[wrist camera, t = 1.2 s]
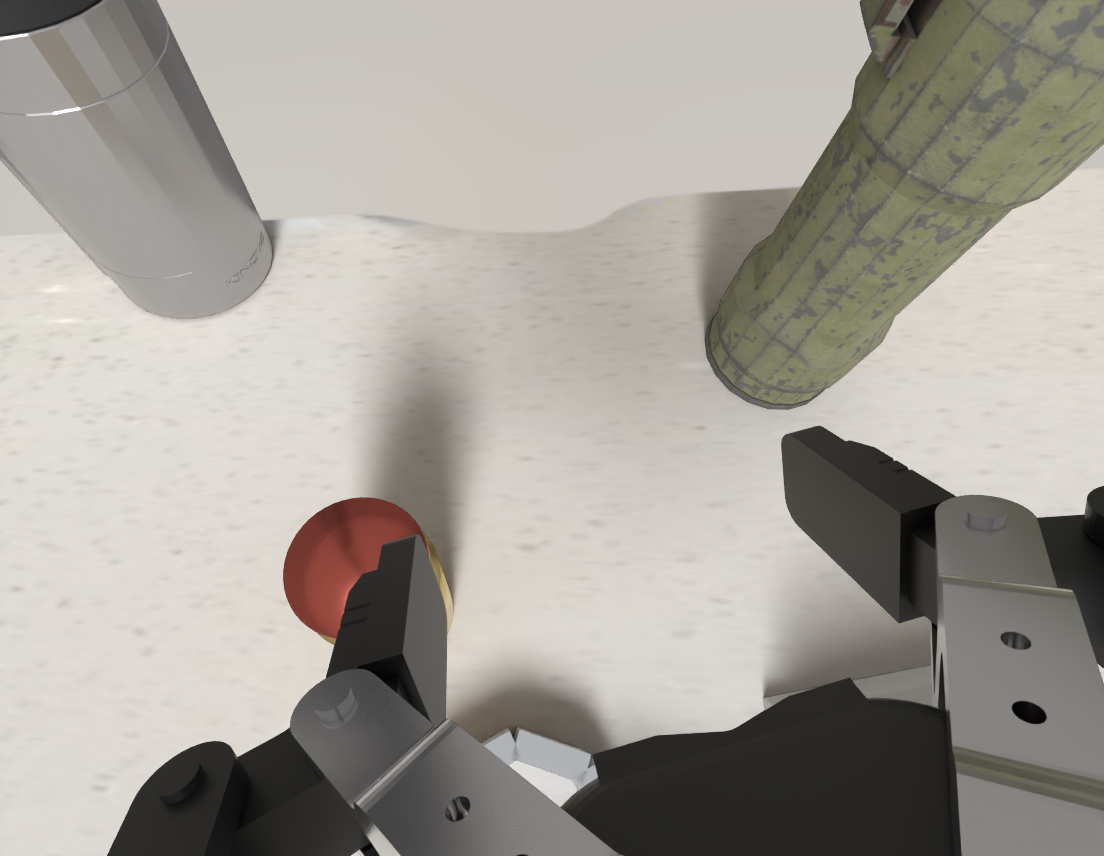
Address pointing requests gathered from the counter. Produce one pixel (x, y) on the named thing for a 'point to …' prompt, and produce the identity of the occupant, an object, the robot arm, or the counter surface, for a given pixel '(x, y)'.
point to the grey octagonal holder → (543, 755)
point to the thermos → (911, 181)
